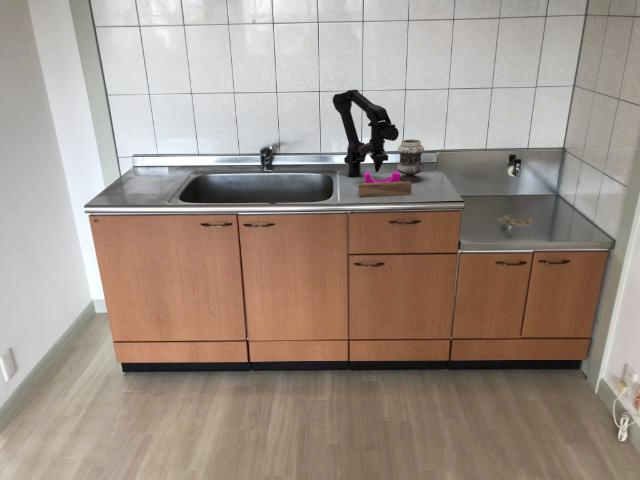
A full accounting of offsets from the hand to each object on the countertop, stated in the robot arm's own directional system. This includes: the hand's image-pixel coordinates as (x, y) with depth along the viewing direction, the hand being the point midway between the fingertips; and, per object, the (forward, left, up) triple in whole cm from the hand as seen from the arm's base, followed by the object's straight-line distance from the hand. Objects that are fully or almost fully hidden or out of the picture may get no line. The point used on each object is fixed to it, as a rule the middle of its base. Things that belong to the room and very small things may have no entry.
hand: (376, 171), depth 230 cm
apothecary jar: (-2, +16, -5) cm, 17 cm away
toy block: (+9, 0, -6) cm, 10 cm away
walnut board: (+18, 0, -5) cm, 18 cm away
